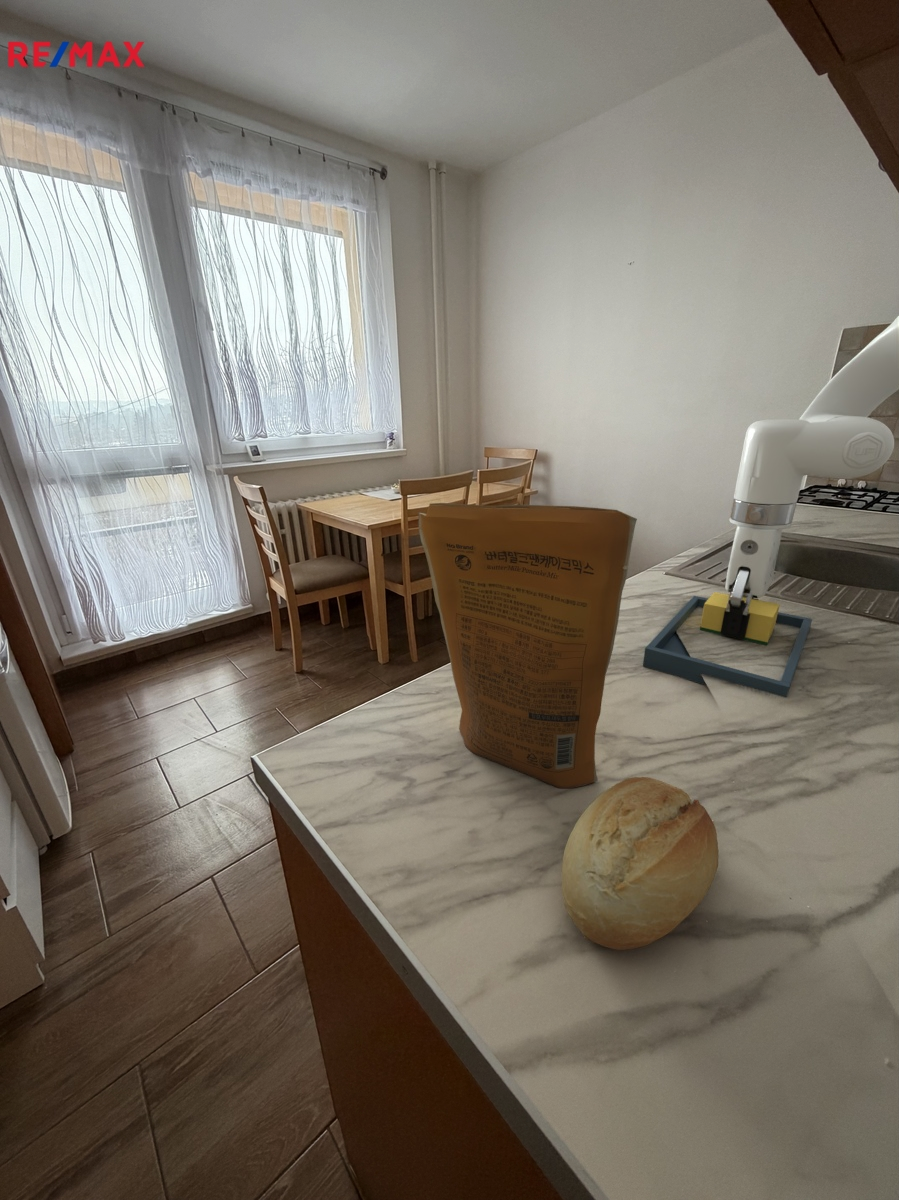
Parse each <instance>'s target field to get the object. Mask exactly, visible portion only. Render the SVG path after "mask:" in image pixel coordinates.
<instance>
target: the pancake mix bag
mask: <svg viewBox="0 0 899 1200" xmlns="http://www.w3.org/2000/svg"><path fill="white" fill-rule="evenodd" d="M637 520H638V518H636V517H633V516H631V515H629V514H627V513H624V512H622V511H620V510H618V509H614V508H613V509H612V508H611V509H610V508H600V507H591V506H589V507H588V506H576V505H575V506H574V505H551V504H550V505H546V504H510V505H509V504H507V505H482V504H463V503H459V504H458V503H450V502H449V503H447V502H433V503H432V502H431V503H429V504H428V508H427V510H426V513H423V512H418V531H419V538H420V542H421V545H422V547H423V550H424V553H425V557H426V561H427V566H428V571H429V575H430V579H431V584H432V589H433V595H434V601H435V604H436V607H437V610H438V613H439V617H440V623H441V627H442V632H443V636H444V639H445V645H446V648H447V652H448V656H449V661H450V667H451V672H452V676H453V678H452V679H453V682H454V687H455V689H456V693H457V696H458V700H459V704H460V707H461V713H460V719H459V725H458V730H459V732H460V735H461V737H462V740H463V743H464V747H466V748H467V749H468V750H469V751H470V752H471V753H472V754H473V755H476V756H479V757H481V758H484V759H487V760H489V761H491V762H494V763H496V764H499V765H501V766H504V767H506V768H509V769H512V770H514V771H517V772H520V773H522V774H525V775H527V776H530V777H533V778H535V779H537V780H539V781H542V782H543V783H546V784H548V785H551V786H553V787H555V788H558V789H574V788H577V787H578V788H579V787H582V786H587V785H590V784H592V783H596V782H598V780H599V779H598V775H597V767H596V758H595V757H596V732H597V725H598V723H599V719H600V716H601V712H602V701H603V695H604V689H605V683H606V682H605V681H606V675H607V671H608V669H609V665H610V663H611V662H610V661H611V658H612V654H613V650H614V646H615V639H616V636H617V635H616V634H617V629H618V625H619V620H620V619H619V617H620V611H621V603H622V597H623V591H624V588H625V584H626V581H627V579H628V573H629V565H630V558H631V552H632V544H633V539H634V534H635V527H636V523H637Z"/></svg>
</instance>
